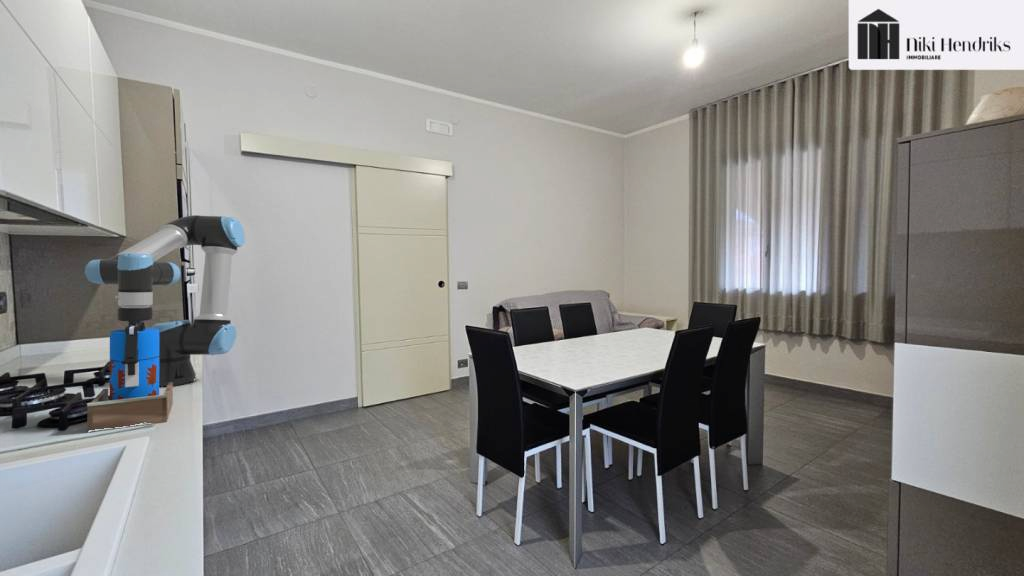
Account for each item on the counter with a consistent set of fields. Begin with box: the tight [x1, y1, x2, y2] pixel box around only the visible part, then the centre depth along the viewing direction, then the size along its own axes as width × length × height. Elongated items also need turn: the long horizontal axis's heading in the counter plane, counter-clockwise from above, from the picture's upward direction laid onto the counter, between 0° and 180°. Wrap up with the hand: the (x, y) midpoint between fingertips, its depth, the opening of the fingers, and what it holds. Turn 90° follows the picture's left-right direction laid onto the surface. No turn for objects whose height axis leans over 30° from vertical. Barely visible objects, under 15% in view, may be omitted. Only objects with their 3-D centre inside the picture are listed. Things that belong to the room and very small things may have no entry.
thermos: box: [109, 327, 160, 401], centre depth 122 cm, size 11×11×25 cm
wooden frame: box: [86, 382, 174, 432], centre depth 121 cm, size 19×16×8 cm
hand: (135, 381), depth 123 cm, fingers closed on thermos, 11 cm apart
